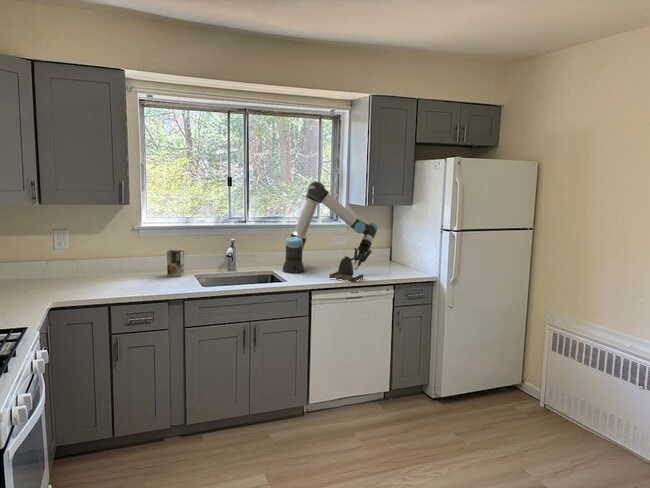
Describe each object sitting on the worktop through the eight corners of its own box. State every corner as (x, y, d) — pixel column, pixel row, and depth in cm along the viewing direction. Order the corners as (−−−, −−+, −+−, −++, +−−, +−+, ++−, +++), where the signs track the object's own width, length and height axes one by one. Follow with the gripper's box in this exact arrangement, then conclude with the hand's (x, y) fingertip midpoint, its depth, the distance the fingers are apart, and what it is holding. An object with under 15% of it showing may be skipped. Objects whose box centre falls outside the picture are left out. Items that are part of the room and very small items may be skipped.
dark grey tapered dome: (354, 281, 311) (355, 257, 309) (338, 280, 310) (339, 257, 308) (352, 277, 321) (353, 255, 319) (337, 277, 320) (337, 254, 318)
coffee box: (184, 274, 311) (184, 250, 309) (180, 276, 304) (180, 251, 302) (171, 274, 312) (170, 249, 310) (166, 276, 305) (166, 251, 303)
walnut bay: (329, 278, 315) (329, 274, 314) (338, 275, 327) (339, 271, 327) (354, 282, 306) (354, 277, 306) (363, 278, 319) (363, 274, 318)
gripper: (376, 246, 339) (365, 273, 327) (359, 244, 345) (348, 271, 333) (373, 239, 334) (362, 266, 322) (356, 238, 340) (345, 264, 328)
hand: (355, 269), depth 327 cm, fingers closed
